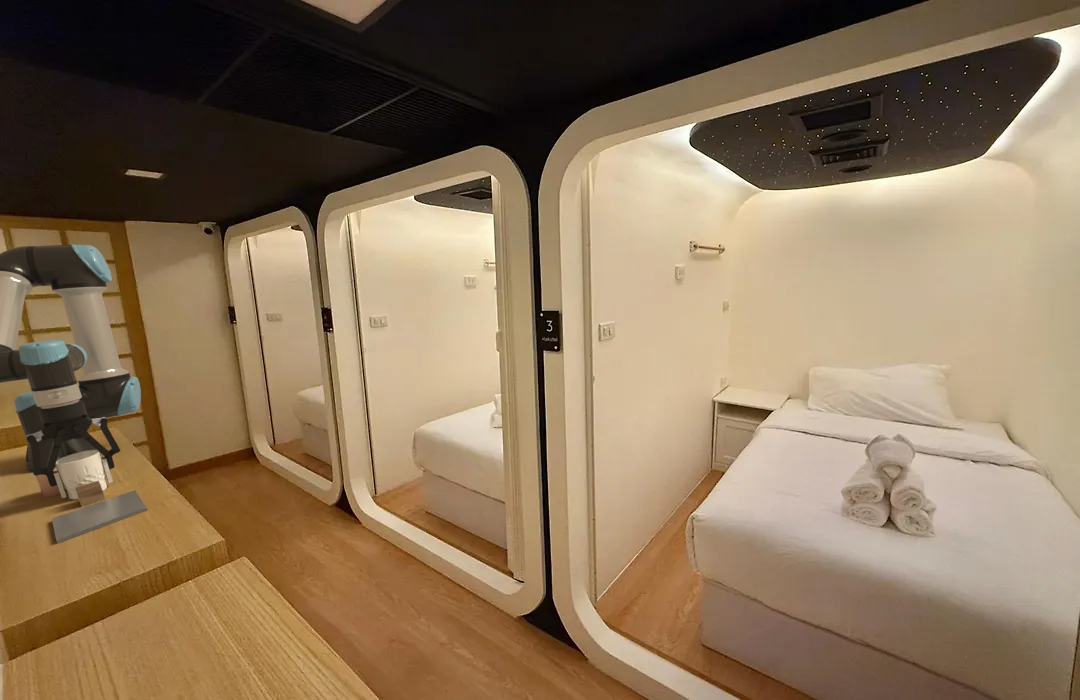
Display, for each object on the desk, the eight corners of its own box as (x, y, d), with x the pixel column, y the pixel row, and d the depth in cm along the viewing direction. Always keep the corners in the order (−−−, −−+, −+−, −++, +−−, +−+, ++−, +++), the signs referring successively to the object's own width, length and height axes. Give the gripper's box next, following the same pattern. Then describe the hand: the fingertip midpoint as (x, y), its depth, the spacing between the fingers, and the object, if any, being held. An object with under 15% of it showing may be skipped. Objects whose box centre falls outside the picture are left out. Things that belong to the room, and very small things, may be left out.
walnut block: (80, 502, 104) (75, 487, 103) (102, 494, 107) (98, 480, 106) (81, 507, 101) (76, 492, 101) (105, 499, 104) (100, 484, 104)
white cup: (66, 494, 108) (54, 458, 106) (109, 481, 114) (99, 447, 112) (66, 504, 103) (53, 467, 101) (111, 490, 109) (100, 454, 107)
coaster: (52, 521, 96) (51, 518, 96) (135, 493, 106) (135, 490, 106) (57, 543, 87) (56, 540, 87) (147, 510, 98) (146, 506, 98)
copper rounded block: (54, 488, 112) (46, 468, 111) (76, 485, 113) (70, 464, 112) (37, 498, 107) (29, 477, 106) (60, 494, 108) (53, 473, 107)
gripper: (-7, 420, 93) (26, 512, 98) (120, 393, 109) (143, 474, 114) (-7, 414, 98) (25, 503, 103) (115, 390, 114) (138, 468, 118)
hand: (87, 488), depth 108 cm, fingers closed on white cup, 8 cm apart
